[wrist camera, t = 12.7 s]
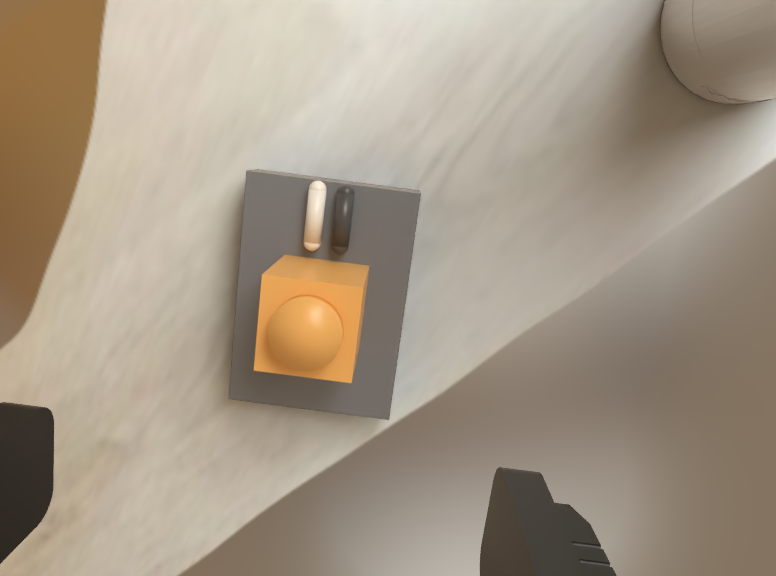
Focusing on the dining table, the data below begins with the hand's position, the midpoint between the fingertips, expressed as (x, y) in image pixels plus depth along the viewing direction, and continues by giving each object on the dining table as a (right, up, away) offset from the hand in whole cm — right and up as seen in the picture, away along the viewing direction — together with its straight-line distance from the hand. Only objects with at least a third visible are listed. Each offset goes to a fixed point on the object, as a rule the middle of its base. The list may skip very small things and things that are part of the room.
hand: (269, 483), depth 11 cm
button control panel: (-2, +3, +28) cm, 28 cm away
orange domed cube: (-2, +3, +25) cm, 25 cm away
